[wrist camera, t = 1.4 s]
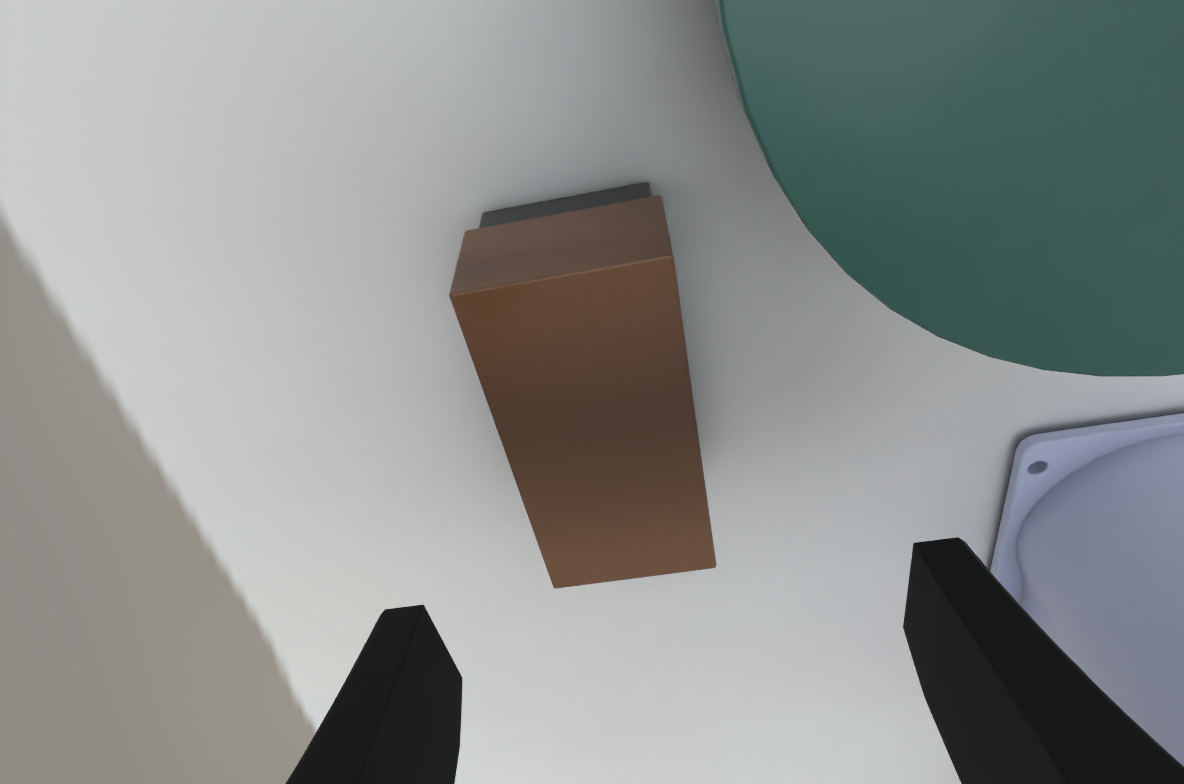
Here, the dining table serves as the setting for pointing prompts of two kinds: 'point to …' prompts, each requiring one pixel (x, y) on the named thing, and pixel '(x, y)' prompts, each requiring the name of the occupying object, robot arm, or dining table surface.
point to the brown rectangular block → (589, 381)
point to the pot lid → (986, 164)
